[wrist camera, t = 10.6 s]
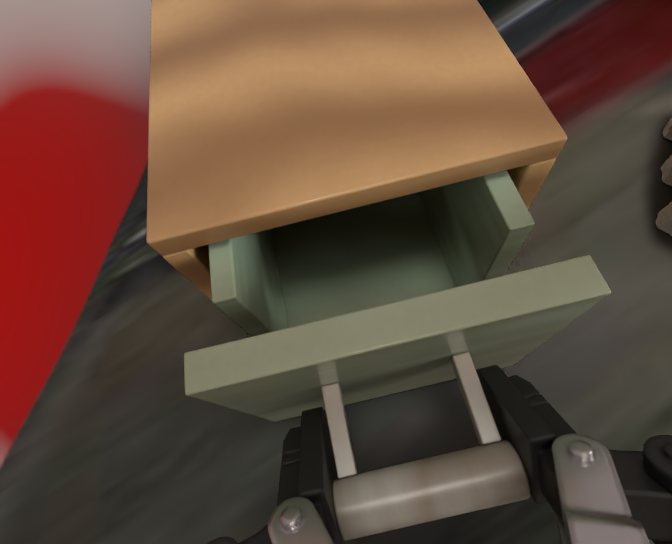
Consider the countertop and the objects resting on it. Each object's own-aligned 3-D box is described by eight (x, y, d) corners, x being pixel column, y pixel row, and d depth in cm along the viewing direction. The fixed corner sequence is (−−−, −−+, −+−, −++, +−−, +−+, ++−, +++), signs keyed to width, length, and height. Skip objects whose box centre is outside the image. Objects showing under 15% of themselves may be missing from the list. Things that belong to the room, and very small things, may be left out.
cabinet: (486, 285, 21) (569, 137, 11) (257, 341, 21) (145, 243, 11) (403, 92, 28) (410, -102, 18) (233, 135, 28) (151, -32, 18)
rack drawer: (557, 468, 16) (724, 481, 8) (287, 531, 16) (189, 603, 8) (419, 140, 24) (434, -12, 16) (244, 185, 25) (174, 56, 17)
